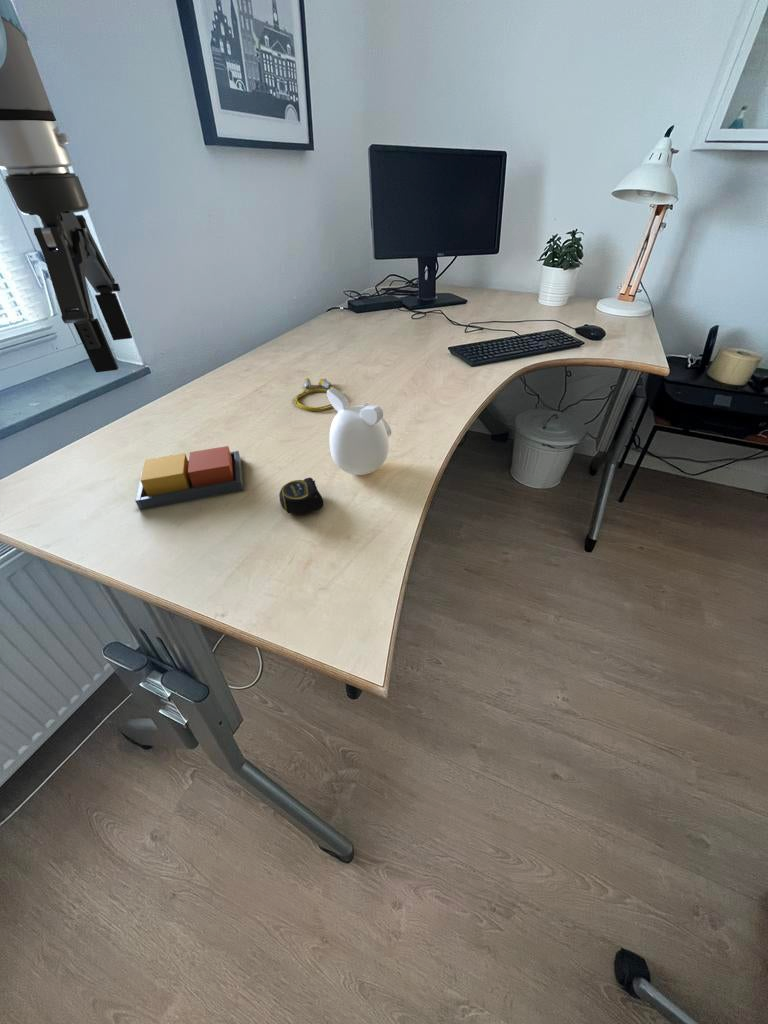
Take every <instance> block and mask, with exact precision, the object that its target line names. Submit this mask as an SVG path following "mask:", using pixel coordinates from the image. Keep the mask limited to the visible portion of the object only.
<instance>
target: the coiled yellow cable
mask: <svg viewBox="0 0 768 1024" xmlns="http://www.w3.org/2000/svg"><path fill="white" fill-rule="evenodd" d="M303 386H304V390H303V391H302V392H301V393H299V394H297V395H296V397H295V399H294V404H295V405H296V407H298V408H300V409H302V410H304V411H309V412H323V411H327V410H328V411H329V410H331V409H334V407H333V406H332V405H331V403H329V404H327V405H324V406H318V407H312V406H306V405H304V404H302V403H301V402H299V399H301V398H302V397H304V396H307V395H310V394H312V393H327V391H328V390H329V389H331V388H333V384H332V383H331V382H329V381H328V380H327V379H326V378H320V379H319V381H318V386H321V387H323V388H325V389H321V388H320V389H319V388H316V389H315V388H314V389H313V388H312V389H311V387H312V383H311V380H310V378H308V377H307V378H305V379H304V382H303Z"/></svg>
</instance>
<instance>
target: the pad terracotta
mask: <svg viewBox="0 0 768 1024" xmlns="http://www.w3.org/2000/svg"><path fill="white" fill-rule="evenodd" d="M230 452H231V450H230V448H229V445H225V446H220V447H213V448H208V449H201V450H194V451H190V452H189V455H188V456H189V457H188V459H189V466H188V474H189V477H190V479H191V482H192V485H193V487H194V488H197V487H202V486H208V485H213V484H219V483H224V482H230V481H234V466H233V460H232V457H231V454H230Z"/></svg>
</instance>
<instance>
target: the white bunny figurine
mask: <svg viewBox="0 0 768 1024" xmlns="http://www.w3.org/2000/svg"><path fill="white" fill-rule="evenodd" d="M327 390H328V391H327V392H326V396H327V398H328V401H329V404H331V406H333V409H334V410H335V411H336V412H337V413H336V414H335V416H334V418H333V420H332V422H331V424H330V429H329V450H330V455H331V458H332V460H333V462H334V464H335V465H336V466H337V467H338V468H339V469H340V470H342V471H343V472H344V473H347V474H349V475H354V476H365V475H368V474H372V473H374V472H376V471H377V470H378V469H381V467H382V466H383V465H384V463H385V462H386V461H387V458H388V456H389V450H390V445H389V444H390V443H389V437H390V436H392V432H393V431H392V429H391V427H390V425H389V424H388V422H387V420H386V419H385V418H384V411H383V408H381V406H380V405H370V404H369V403H368V402H365V403H364V404H362V405H351V406H350V404H349V400H348V399H347V397H346V396H345V395H344V394H343V393H342V392H341V391H339V390H338V389H336V388H335V387H332V388H331V389H327Z"/></svg>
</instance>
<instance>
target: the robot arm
mask: <svg viewBox="0 0 768 1024" xmlns="http://www.w3.org/2000/svg"><path fill="white" fill-rule="evenodd" d="M70 141H71V140H70V137H69V136H68V135H67V133H65V132H61V128H60V126H59V124H58V122H57V118H56V116H55V113H54V110H53V107H52V105H51V102H50V99H49V96H48V94H47V91H46V88H45V86H44V83H43V80H42V77H41V75H40V72H39V69H38V66H37V64H36V60H35V59H34V56H33V52H32V50H31V48H30V45H29V39H28V36H27V34H26V32H25V30H24V27H23V26H22V23H21V21H20V19H19V16H18V14H17V12H16V9H15V7H14V4H13V2H12V0H0V169H1V170H5V172H6V174H7V175H4V179H3V181H4V182H5V185H6V187H7V189H8V191H9V193H10V195H11V197H12V200H13V202H14V204H15V206H16V208H17V210H18V211H19V212H20V213H21V214H23V215H26V216H38V217H39V219H40V222H41V225H42V227H33V234H34V236H35V238H36V240H37V243H38V245H39V247H40V250H41V252H42V255H43V259H44V262H45V265H46V268H47V271H48V275H49V277H50V282H51V284H52V285H51V286H52V288H53V290H54V294H55V297H56V300H57V304H58V307H59V311H60V314H61V316H60V317H61V320H62V322H63V323H64V324H65V325H69V324H73V326H74V328H75V330H76V332H77V335H78V337H79V338H80V341H81V343H82V346H83V348H84V351H85V352H86V354H87V357H88V358H89V361H90V363H91V365H92V367H93V369H94V371H95V373H103V372H111V371H118V370H119V366H118V364H117V361H116V358H115V357H114V354H113V351H112V349H111V346H110V344H109V341H108V340H107V338H106V336H105V333H104V330H103V328H102V326H101V323H100V322H99V321H100V320H99V318H95V316H94V312H93V308H92V303H91V299H90V294H89V289H88V284H87V281H88V283H89V284H90V285H91V288H93V291H94V292H95V293H96V294H95V295H94V297H95V300H96V302H97V305H98V307H99V310H100V311H101V314H102V317H103V320H104V321H105V324H106V326H107V328H108V332H109V333H110V336H111V339H112V340H113V341H121V340H130V339H132V338H133V335H132V331H131V329H130V327H129V324H128V322H127V320H126V319H127V318H126V317H125V314H124V312H123V309H122V307H121V304H120V301H119V299H118V296H117V294H116V293H118V292H121V287H120V285H119V283H116V280H115V278H114V276H113V275H112V272H111V270H110V268H109V266H108V265H107V262H106V261H105V259H104V257H103V255H102V253H101V251H100V249H99V247H98V244H97V243H96V241H95V238H94V237H93V235H92V233H91V230H90V228H89V226H88V223H87V219H86V218H85V216H84V215H83V214H75V213H80V212H85V211H87V210H88V209H89V207H90V205H89V202H88V199H87V197H86V194H85V191H84V189H83V185H82V182H81V181H80V177H79V176H78V175H76V173H75V172H70V168H69V167H72V166H73V164H74V163H73V161H72V158H71V155H70V153H69V150H68V147H67V146H66V145H68V144H70Z"/></svg>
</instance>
